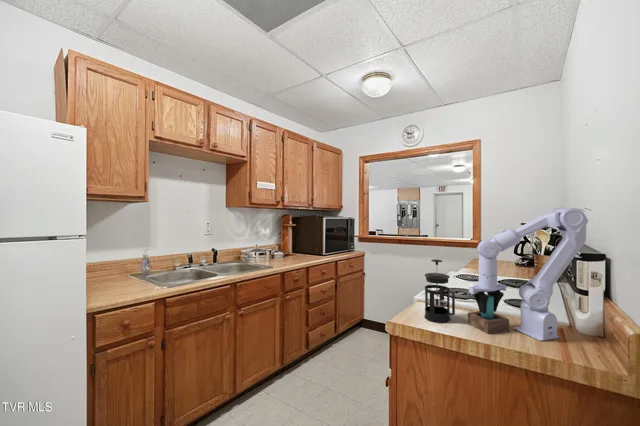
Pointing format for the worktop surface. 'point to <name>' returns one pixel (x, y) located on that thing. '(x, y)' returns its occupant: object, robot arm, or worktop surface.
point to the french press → (436, 307)
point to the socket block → (488, 323)
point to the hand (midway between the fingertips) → (487, 311)
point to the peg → (489, 309)
